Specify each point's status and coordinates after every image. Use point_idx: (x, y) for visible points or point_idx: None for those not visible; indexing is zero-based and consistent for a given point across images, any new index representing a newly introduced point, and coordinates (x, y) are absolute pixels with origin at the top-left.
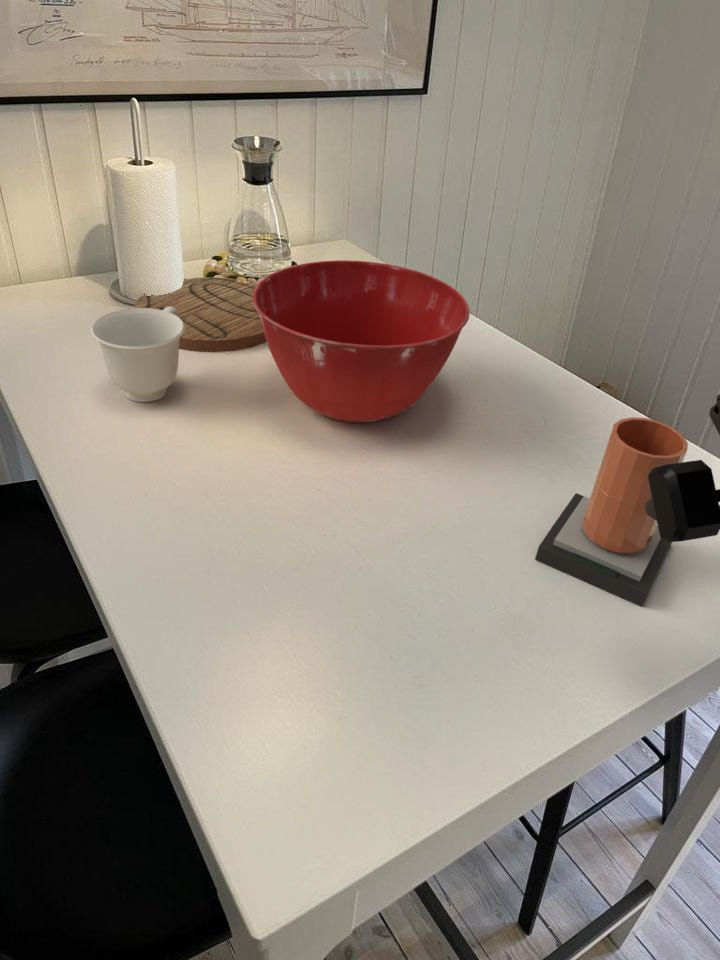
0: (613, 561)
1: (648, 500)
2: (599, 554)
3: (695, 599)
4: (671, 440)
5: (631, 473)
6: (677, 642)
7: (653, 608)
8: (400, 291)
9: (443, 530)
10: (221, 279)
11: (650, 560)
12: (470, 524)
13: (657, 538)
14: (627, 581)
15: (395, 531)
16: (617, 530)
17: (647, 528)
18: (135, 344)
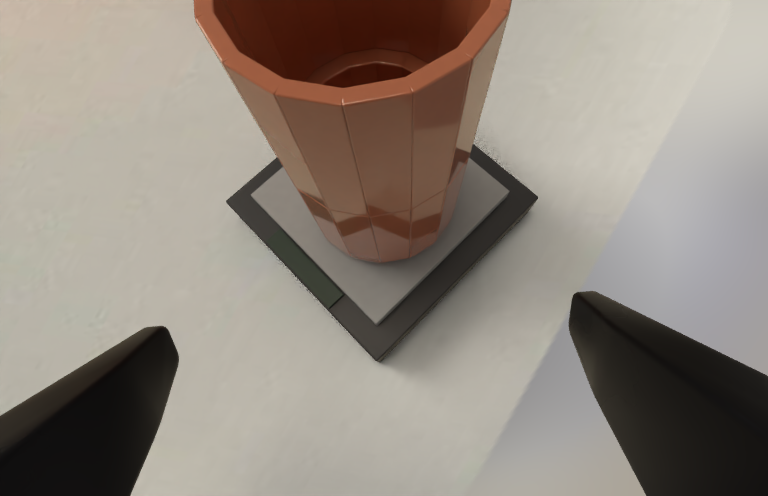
0: (338, 272)
1: (100, 355)
2: (318, 248)
3: (503, 360)
4: None
5: (260, 127)
6: (401, 467)
7: (401, 369)
8: None
9: (119, 127)
10: None
11: (435, 268)
12: (172, 117)
13: (474, 218)
14: (351, 321)
15: (39, 121)
16: (326, 228)
17: (395, 239)
18: None
